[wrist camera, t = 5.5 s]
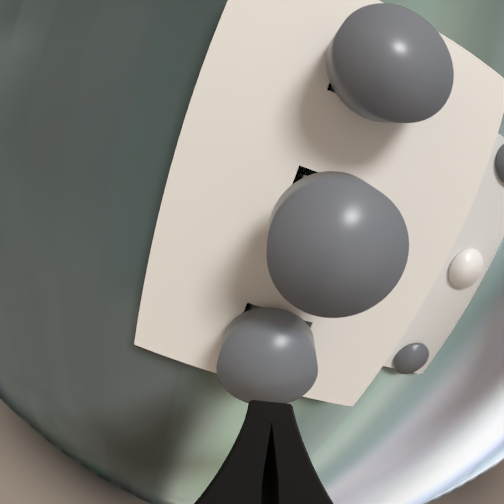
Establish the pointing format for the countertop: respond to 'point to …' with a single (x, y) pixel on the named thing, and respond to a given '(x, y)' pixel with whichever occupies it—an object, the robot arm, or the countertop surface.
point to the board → (281, 178)
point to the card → (457, 273)
